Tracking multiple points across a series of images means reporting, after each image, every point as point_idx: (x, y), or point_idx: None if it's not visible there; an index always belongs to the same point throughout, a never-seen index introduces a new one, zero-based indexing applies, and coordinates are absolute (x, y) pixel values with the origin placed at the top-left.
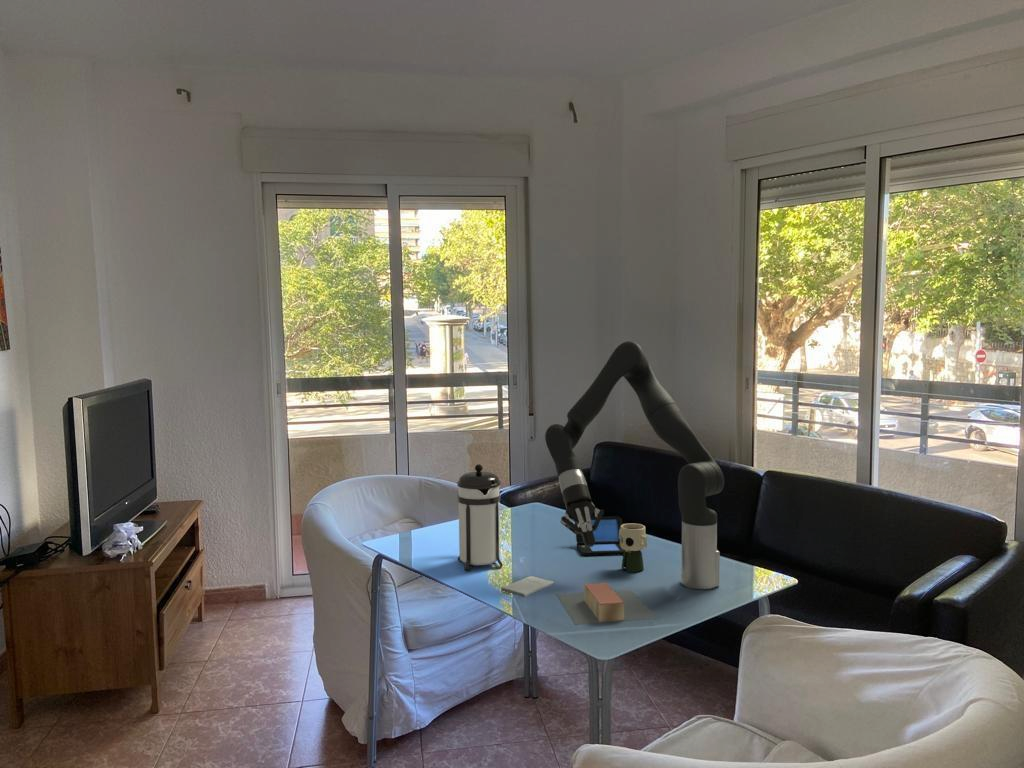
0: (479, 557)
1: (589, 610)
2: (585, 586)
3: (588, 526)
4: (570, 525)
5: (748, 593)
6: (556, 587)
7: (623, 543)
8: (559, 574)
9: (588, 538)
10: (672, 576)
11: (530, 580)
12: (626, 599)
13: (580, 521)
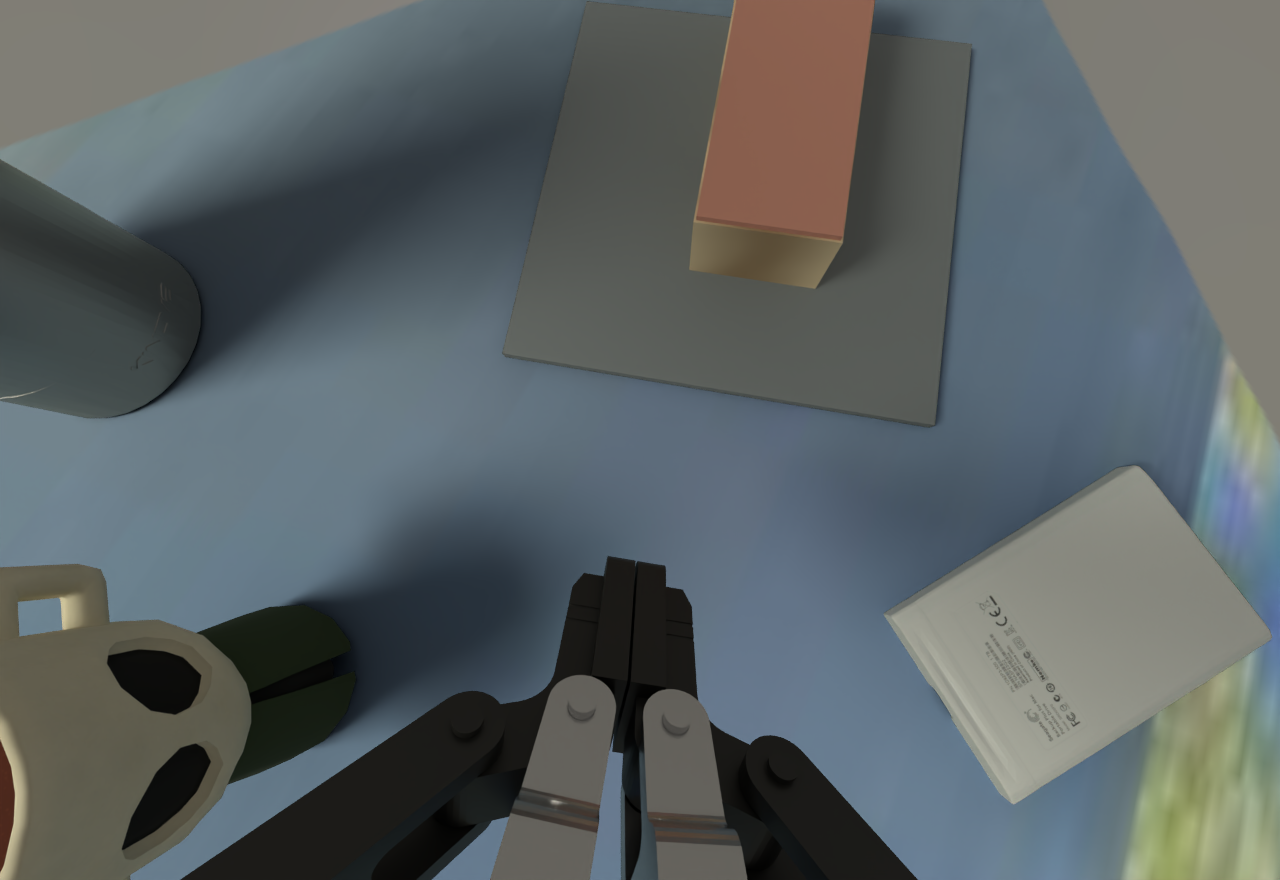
0: None
1: None
2: (844, 220)
3: (590, 749)
4: (906, 877)
5: (10, 150)
6: (878, 568)
7: (208, 722)
8: None
9: (649, 610)
10: (150, 491)
11: (1040, 700)
12: (597, 233)
13: (723, 867)
